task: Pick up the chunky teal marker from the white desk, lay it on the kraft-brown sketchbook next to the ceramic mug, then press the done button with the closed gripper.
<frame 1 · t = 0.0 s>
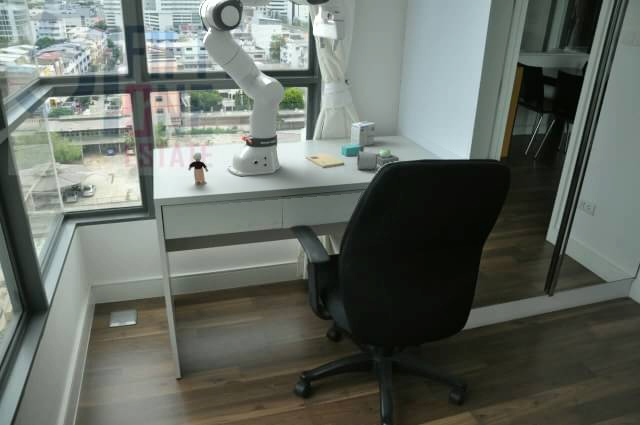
hand: (327, 49, 214), 48 cm above the table, tool pointing down, fingers open, 8 cm apart
ceramic mug: (365, 168, 222), on the table
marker: (352, 154, 240), on the table
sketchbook: (324, 161, 228), on the table
button housing: (384, 162, 229), on the table
light bulb box: (362, 144, 256), on the table
done button: (385, 154, 228), point 4 cm above the table, slide at 0.0 cm
grandmother figurine: (199, 183, 198), on the table
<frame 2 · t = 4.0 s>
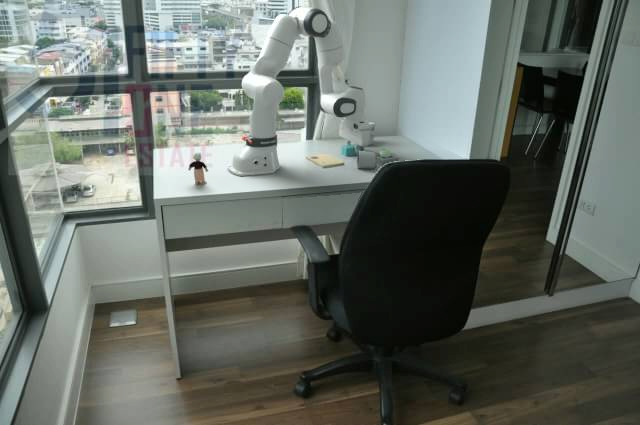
hand: (352, 150, 239), 2 cm above the table, tool pointing down, fingers closed on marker, 4 cm apart
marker: (352, 154, 240), on the table, touching gripper
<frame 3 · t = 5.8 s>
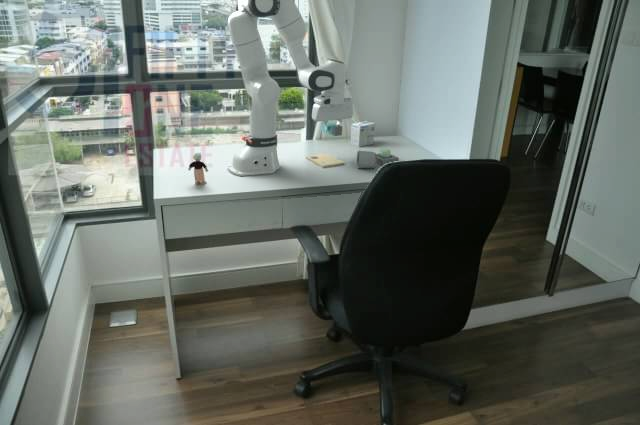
hand: (331, 129, 225), 14 cm above the table, tool pointing down, fingers closed on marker, 4 cm apart
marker: (331, 133, 225), point 13 cm above the table, touching gripper
when the fingers open (4 cm above the table, at t = 8.1 s): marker stays where it is, resting on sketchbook.
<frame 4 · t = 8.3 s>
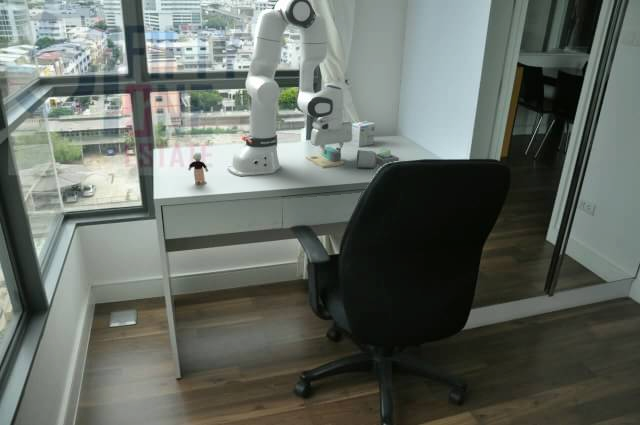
hand: (331, 152, 228), 4 cm above the table, tool pointing down, fingers open, 6 cm apart
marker: (331, 158, 229), point 1 cm above the table, touching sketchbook
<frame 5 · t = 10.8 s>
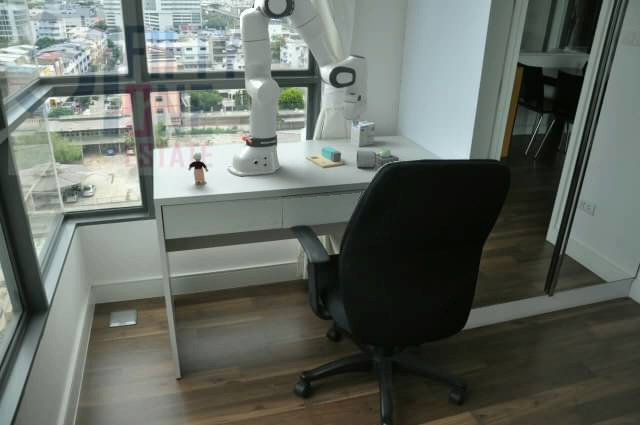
hand: (355, 125, 223), 17 cm above the table, tool pointing down, fingers closed
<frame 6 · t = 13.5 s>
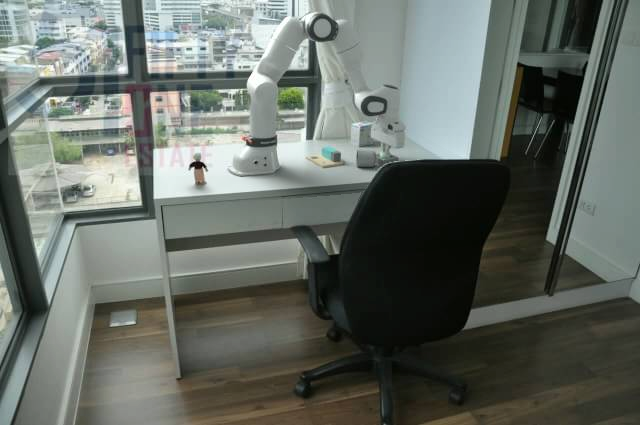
hand: (385, 152, 228), 5 cm above the table, tool pointing down, fingers closed, pressing on done button
done button: (384, 156, 228), point 3 cm above the table, slide at 1.0 cm, touching gripper
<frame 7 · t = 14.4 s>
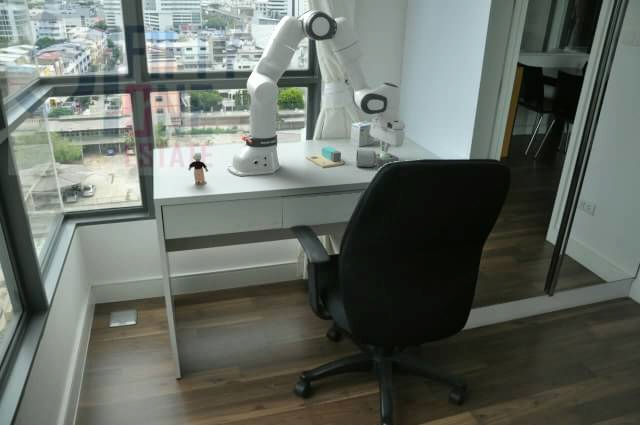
hand: (384, 151, 227), 5 cm above the table, tool pointing down, fingers closed
done button: (384, 157, 229), point 2 cm above the table, slide at 1.4 cm
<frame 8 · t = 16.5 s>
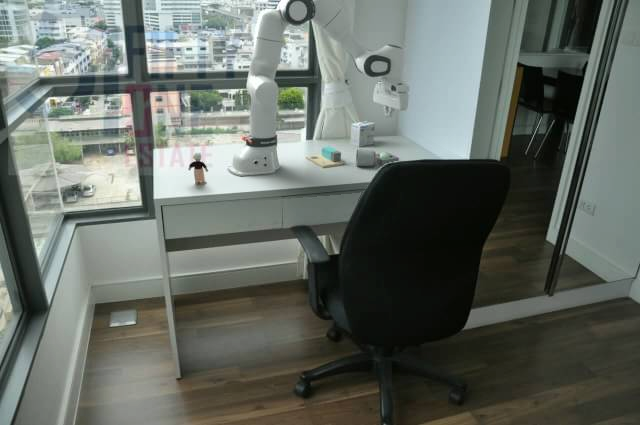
hand: (388, 116, 221), 21 cm above the table, tool pointing down, fingers closed
at the end: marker inside the target area on the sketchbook (3.5 cm from its centre), point 1.0 cm above the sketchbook's base; done button slide at 1.4 cm; the gripper is holding nothing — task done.
